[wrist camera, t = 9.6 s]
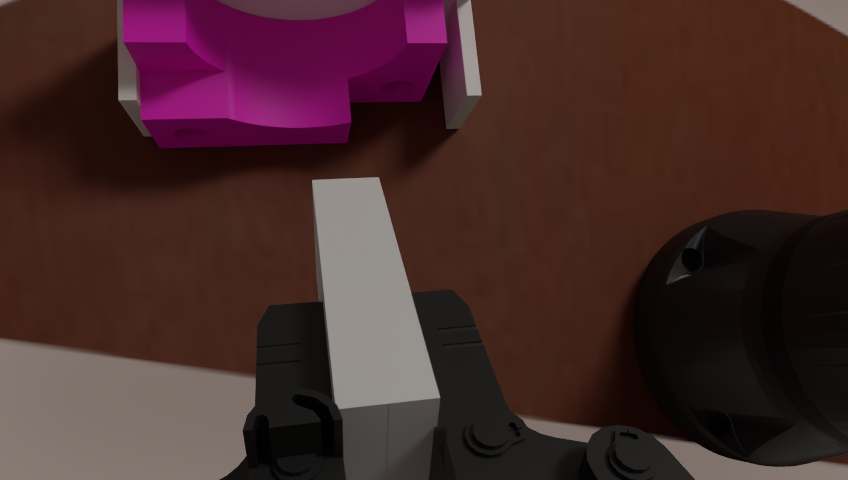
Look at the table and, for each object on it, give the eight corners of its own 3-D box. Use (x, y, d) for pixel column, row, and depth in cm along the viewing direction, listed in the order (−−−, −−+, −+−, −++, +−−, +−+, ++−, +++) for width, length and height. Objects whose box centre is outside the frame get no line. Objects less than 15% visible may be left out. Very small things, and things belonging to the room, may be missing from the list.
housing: (459, 128, 38) (519, 39, 28) (144, 136, 35) (74, 37, 24) (447, 25, 39) (501, -98, 29) (141, 22, 36) (74, -119, 25)
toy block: (160, 149, 35) (124, 94, 28) (158, 45, 36) (122, -34, 29) (424, 142, 38) (452, 90, 31) (414, 46, 39) (440, -26, 32)
